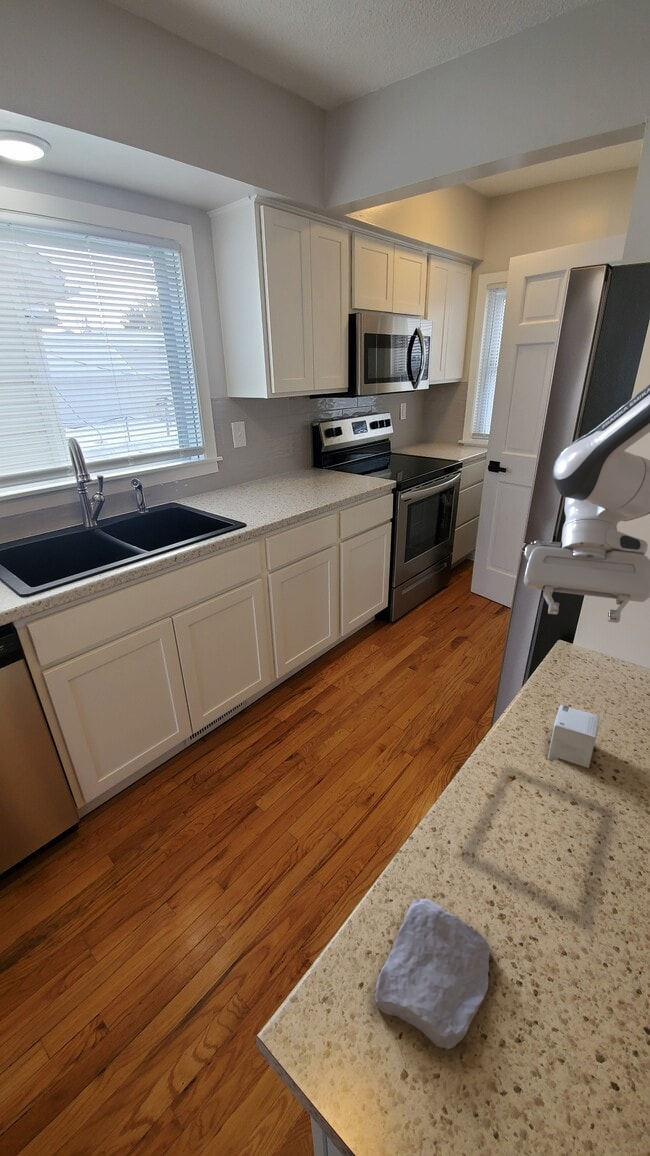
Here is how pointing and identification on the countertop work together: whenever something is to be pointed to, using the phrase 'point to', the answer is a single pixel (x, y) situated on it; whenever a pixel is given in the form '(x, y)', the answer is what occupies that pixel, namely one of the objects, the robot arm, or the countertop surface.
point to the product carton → (573, 736)
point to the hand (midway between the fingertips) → (582, 617)
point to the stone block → (435, 974)
